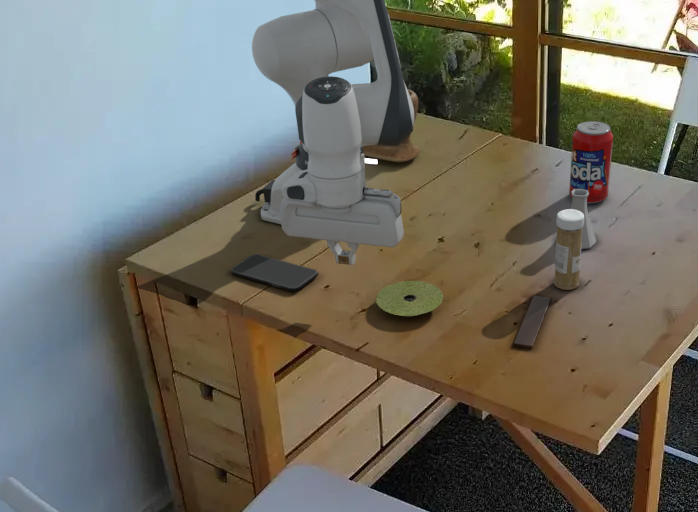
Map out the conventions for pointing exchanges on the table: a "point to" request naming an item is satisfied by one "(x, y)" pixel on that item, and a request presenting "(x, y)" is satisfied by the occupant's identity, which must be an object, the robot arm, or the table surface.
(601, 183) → the soda can
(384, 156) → the stone cup
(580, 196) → the flask
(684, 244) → the table surface
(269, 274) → the smartphone
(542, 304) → the walnut strip
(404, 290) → the green flat disc
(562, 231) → the sprinkles bottle
